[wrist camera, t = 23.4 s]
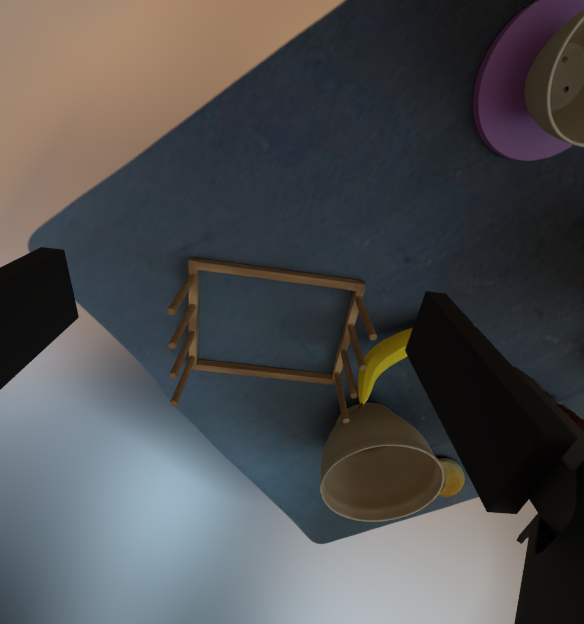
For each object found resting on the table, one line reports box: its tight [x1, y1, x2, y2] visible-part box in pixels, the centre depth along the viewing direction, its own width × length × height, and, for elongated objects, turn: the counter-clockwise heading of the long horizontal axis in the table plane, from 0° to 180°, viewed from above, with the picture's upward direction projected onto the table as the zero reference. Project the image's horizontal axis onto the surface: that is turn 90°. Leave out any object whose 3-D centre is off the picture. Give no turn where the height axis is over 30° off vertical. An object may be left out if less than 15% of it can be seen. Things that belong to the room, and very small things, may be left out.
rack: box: [167, 257, 377, 423], centre depth 40 cm, size 16×21×10 cm
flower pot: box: [524, 9, 584, 147], centre depth 27 cm, size 10×10×7 cm
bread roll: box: [437, 458, 465, 497], centre depth 57 cm, size 8×9×4 cm
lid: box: [473, 0, 584, 161], centre depth 31 cm, size 13×13×1 cm
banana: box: [357, 324, 476, 411], centre depth 41 cm, size 3×19×6 cm, turn 106°
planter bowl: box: [320, 403, 444, 522], centre depth 48 cm, size 16×16×11 cm
